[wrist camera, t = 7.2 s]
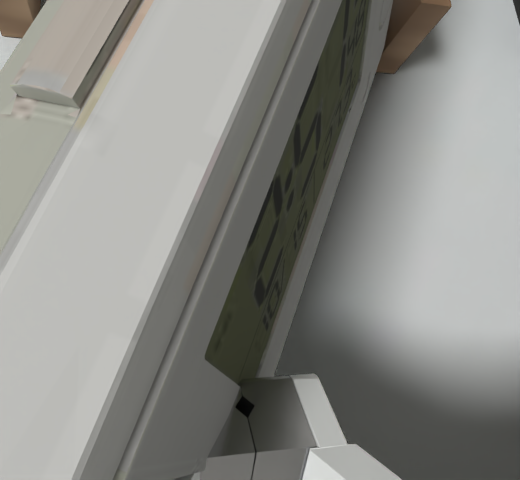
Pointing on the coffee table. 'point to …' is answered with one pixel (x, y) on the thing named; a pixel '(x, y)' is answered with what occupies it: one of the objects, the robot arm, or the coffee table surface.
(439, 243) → the coffee table surface
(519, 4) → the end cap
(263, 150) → the digital clock
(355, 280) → the coffee table surface
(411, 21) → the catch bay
